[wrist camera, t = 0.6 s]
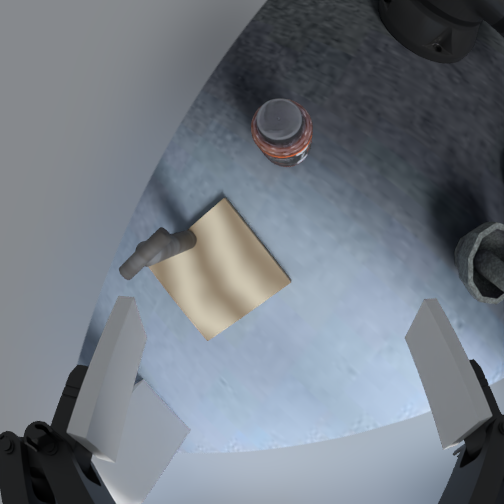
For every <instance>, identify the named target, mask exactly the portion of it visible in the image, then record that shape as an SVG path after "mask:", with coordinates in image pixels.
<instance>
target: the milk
mask: <svg viewBox="0 0 504 504" xmlns="http://www.w3.org/2000/svg"><path fill="white" fill-rule="evenodd" d="M189 432H190V429H189V428H188V427H187V426H186V425H185V424H184V423H183V422H182V421H181V420H180V418H179V417H178V416H177V415H176V414H175V413H174V412H173V411H172V410H171V409H170V408H169V407H168V406H167V405H166V404H165V403H164V401H163V400H162V399H161V398H160V397H159V396H158V395H157V394H156V393H155V391H154V390H153V389H152V388H151V387H150V386H149V385H148V383H147V382H146V381H145V380H144V379H143V380H141V381H140V382H138V383H136V384H135V385H134V387H133V390H132V394H131V398H130V402H129V406H128V410H127V414H126V418H125V422H124V427H123V431H122V435H121V440H120V444H119V449H118V454H117V458H116V463H113V462H109V461H105V460H102V459H98V458H97V457H96V456H94V455H92V459H91V461H92V462H93V464H94V466H95V468H96V469H97V471H98V473H99V475H100V477H101V479H102V480H103V482H104V484H105V486H106V487H107V489H108V491H109V493H110V494H111V496H112V498H113V499H114V501H115V502H116V504H141V503H142V502H143V501H144V500H145V498H146V497H147V495H148V494H149V492H150V491H151V490H152V488H153V486H154V485H155V484H156V482H157V481H158V479H159V478H160V476H161V475H162V473H163V472H164V470H165V469H166V467H167V466H168V464H169V463H170V461H171V460H172V458H173V456H174V455H175V454H176V452H177V451H178V449H179V447H180V446H181V444H182V443H183V441H184V440H185V438H186V437H187V435H188V434H189Z"/></svg>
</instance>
